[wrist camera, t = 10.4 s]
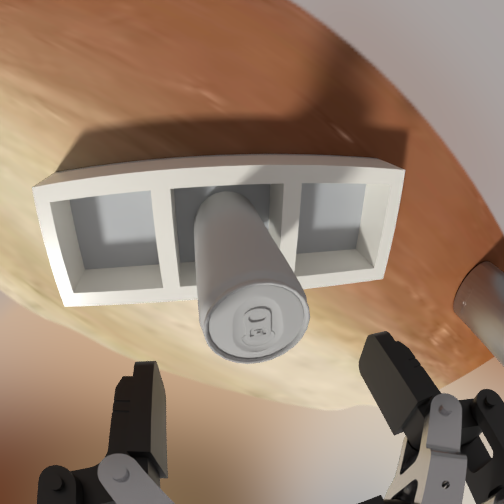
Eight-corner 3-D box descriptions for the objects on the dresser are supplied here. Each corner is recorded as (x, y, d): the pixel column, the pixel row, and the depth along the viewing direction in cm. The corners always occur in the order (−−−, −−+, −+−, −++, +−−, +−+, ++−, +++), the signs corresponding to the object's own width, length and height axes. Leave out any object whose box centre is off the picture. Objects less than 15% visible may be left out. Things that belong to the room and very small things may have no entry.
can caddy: (377, 158, 23) (405, 169, 20) (361, 256, 28) (382, 279, 24) (54, 172, 19) (31, 187, 15) (78, 278, 23) (64, 306, 20)
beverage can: (197, 252, 24) (208, 372, 13) (189, 193, 21) (191, 289, 11) (258, 244, 24) (309, 354, 14) (255, 185, 22) (316, 270, 12)
